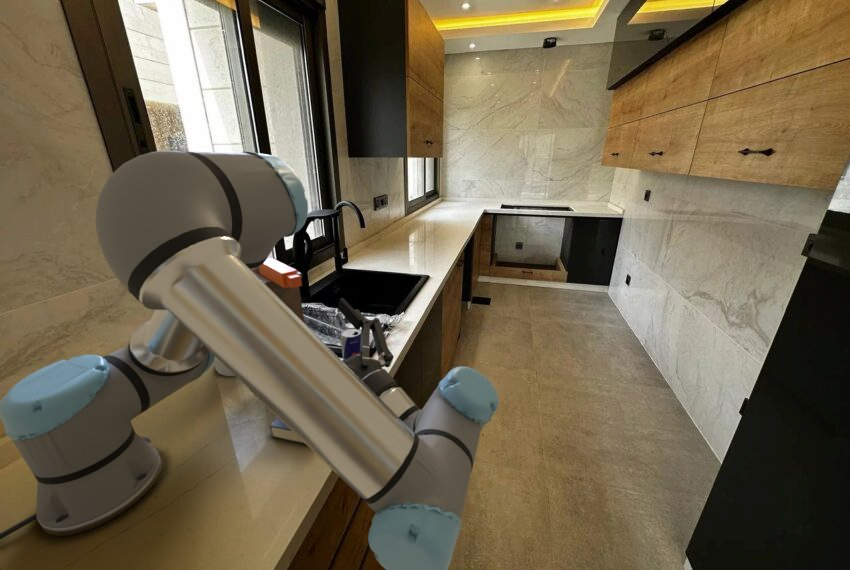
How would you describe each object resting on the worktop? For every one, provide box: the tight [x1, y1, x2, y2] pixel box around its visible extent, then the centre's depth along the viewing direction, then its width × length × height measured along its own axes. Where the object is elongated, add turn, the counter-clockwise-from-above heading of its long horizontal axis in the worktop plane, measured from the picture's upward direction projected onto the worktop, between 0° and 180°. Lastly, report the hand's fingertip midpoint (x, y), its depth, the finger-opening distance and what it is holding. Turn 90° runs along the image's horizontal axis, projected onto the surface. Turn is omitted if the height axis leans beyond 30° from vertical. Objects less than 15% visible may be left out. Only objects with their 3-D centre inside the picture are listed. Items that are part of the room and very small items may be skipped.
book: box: [269, 416, 306, 445], centre depth 72 cm, size 14×10×3 cm
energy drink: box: [340, 327, 361, 360], centre depth 85 cm, size 5×5×12 cm
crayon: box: [253, 255, 303, 288], centre depth 68 cm, size 3×20×3 cm, turn 47°
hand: (309, 314), depth 60 cm, fingers open, 13 cm apart
